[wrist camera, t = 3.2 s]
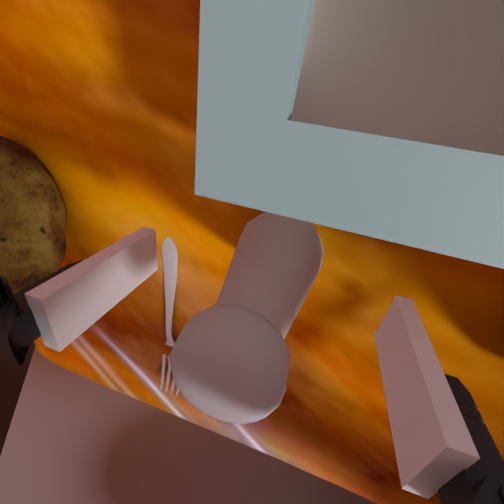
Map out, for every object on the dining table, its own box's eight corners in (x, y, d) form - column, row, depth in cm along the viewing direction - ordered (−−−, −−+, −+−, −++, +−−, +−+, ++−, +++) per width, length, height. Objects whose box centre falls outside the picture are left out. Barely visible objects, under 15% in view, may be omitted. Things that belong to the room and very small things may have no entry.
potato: (72, 142, 21) (-55, 152, 14) (99, 271, 27) (20, 320, 21) (-3, 128, 23) (-148, 131, 16) (38, 252, 29) (-53, 292, 22)
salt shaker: (237, 215, 20) (107, 335, 9) (308, 188, 17) (255, 307, 6) (266, 278, 21) (190, 445, 10) (335, 261, 19) (331, 458, 8)
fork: (187, 209, 21) (176, 216, 20) (186, 385, 33) (179, 398, 31) (154, 201, 22) (140, 207, 20) (165, 377, 34) (156, 389, 32)
